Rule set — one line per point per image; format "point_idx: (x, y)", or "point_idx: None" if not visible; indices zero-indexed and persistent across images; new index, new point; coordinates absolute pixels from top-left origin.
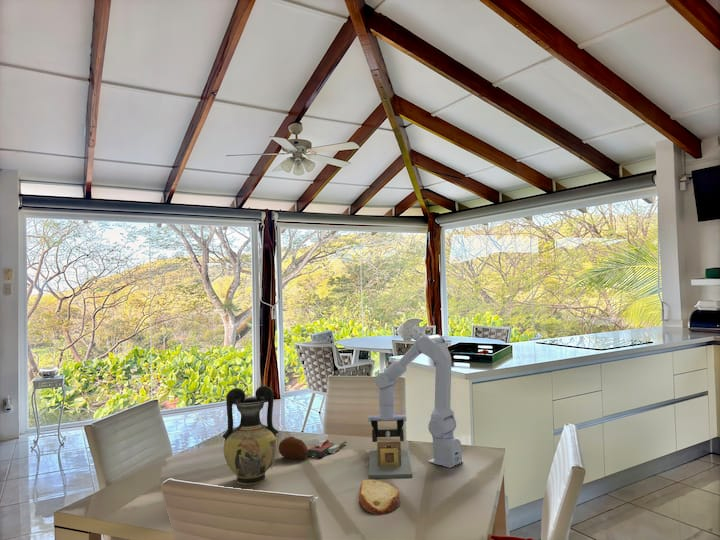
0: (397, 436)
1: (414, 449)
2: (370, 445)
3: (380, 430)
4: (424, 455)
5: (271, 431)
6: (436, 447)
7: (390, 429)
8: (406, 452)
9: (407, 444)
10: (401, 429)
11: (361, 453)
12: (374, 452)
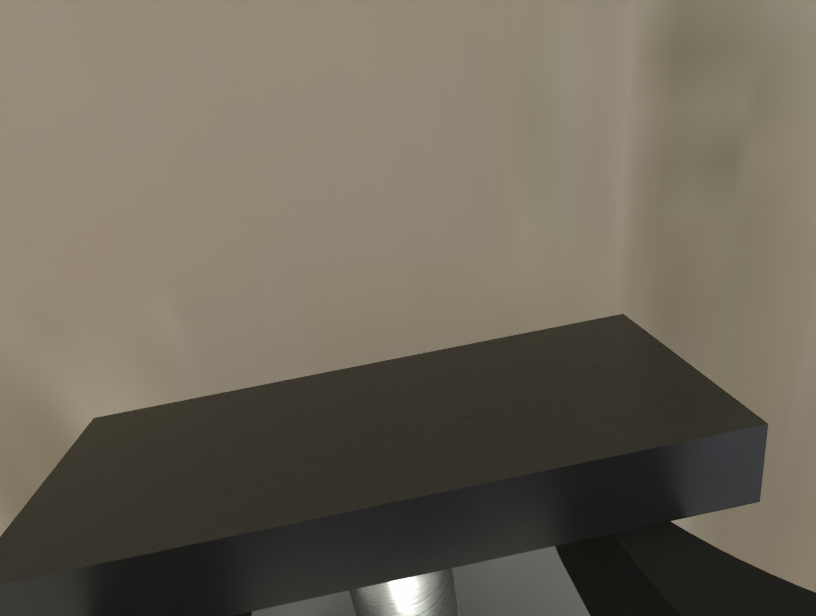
0: (579, 588)
1: (703, 310)
2: (33, 186)
3: (222, 607)
4: (776, 490)
5: None
6: None
7: (462, 557)
8: None
9: (629, 75)
10: (718, 505)
11: None
12: None
